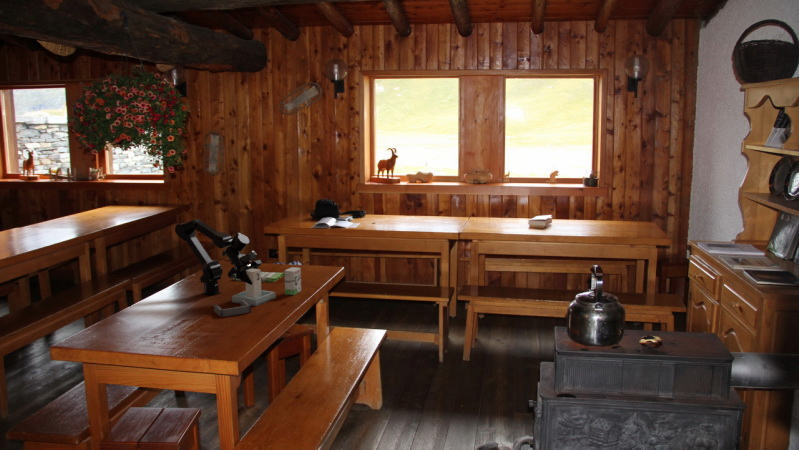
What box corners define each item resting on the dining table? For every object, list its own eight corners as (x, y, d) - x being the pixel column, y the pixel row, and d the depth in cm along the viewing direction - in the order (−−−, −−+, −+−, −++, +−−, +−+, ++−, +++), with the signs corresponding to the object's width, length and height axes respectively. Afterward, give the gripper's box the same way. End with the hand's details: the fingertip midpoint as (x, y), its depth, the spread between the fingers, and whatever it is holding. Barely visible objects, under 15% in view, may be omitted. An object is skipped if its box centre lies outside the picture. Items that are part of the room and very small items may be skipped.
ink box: (294, 295, 317) (293, 271, 315) (284, 294, 318) (283, 270, 316) (301, 290, 325) (301, 267, 323) (292, 290, 326) (291, 266, 324)
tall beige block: (246, 296, 308) (245, 270, 306) (253, 294, 312) (252, 268, 310) (256, 298, 305) (255, 272, 303) (263, 295, 309) (262, 269, 307)
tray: (232, 302, 306) (231, 295, 306) (252, 294, 318) (251, 288, 318) (256, 306, 300) (255, 299, 299) (275, 298, 312) (275, 292, 311)
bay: (214, 310, 293) (213, 304, 292) (243, 306, 299) (243, 299, 299) (220, 317, 284) (220, 310, 283) (251, 312, 290) (251, 305, 290)
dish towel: (245, 273, 361) (245, 267, 361) (285, 275, 357) (285, 269, 357) (231, 281, 345) (231, 275, 344) (273, 283, 341) (273, 276, 340)
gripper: (231, 250, 298) (251, 276, 295) (258, 242, 315) (277, 268, 312) (218, 265, 303) (238, 291, 300) (245, 257, 320) (264, 282, 317)
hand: (255, 282), depth 307 cm, fingers closed on tall beige block, 5 cm apart
